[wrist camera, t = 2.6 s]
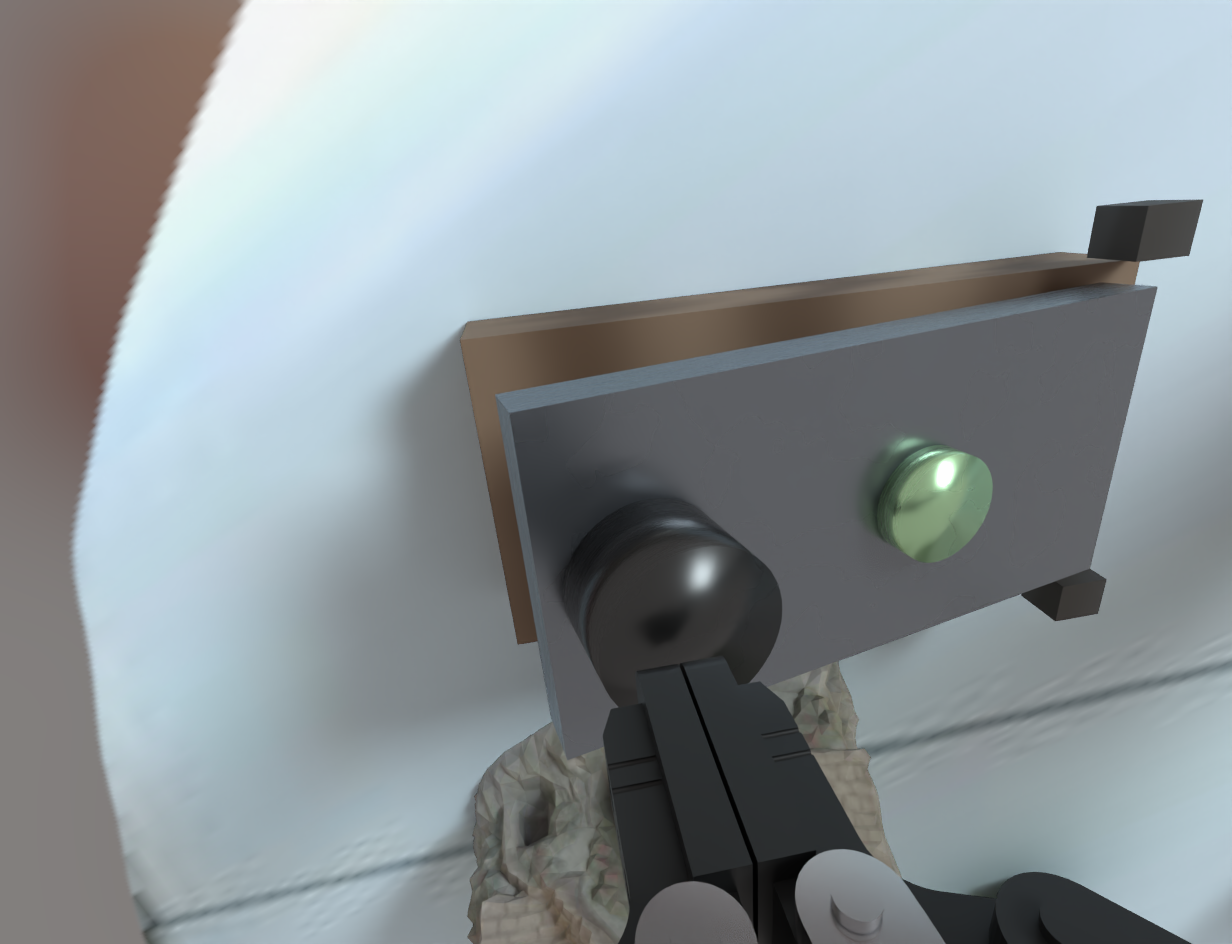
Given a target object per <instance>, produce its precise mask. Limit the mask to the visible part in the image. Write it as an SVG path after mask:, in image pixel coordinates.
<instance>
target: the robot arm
mask: <svg viewBox="0 0 1232 944" xmlns="http://www.w3.org/2000/svg"><path fill="white" fill-rule="evenodd" d="M635 678H636V689H637V699H638V704H635V705H630V706H624V707H619V708H613V709H611V710H610V713H609V716H608V720H607V723H606V726H605V729H604V732H603V744H604V751H605V759H606V766H607V774H608V781H609V789H610V796H611V804H612V810H613V816H614V821H615V827H616V833H617V839H618V845H619V851H620V857H621V863H622V869H623V875H624V881H625V887H626V893H627V899H628V904H629V916H628V921H627V924H626V927H625V930H624V933H623V935H622V937H621V939H620V941H619V942H618V944H1191V943H1189V942H1188V941H1186V940H1184V939H1182V938H1180V937H1178V936H1176V935H1174V934H1172V933H1171V932H1169V931H1167V930H1165V929H1163V928H1161V927H1159V926H1157V925H1155V924H1154V923H1152V922H1150V921H1148V920H1146V919H1144V918H1142V917H1140V916H1138V915H1137V914H1135V913H1133V912H1131V911H1129V910H1127V909H1125V908H1123V907H1121V906H1120V905H1118V904H1116V903H1114V902H1112V901H1110V900H1108V899H1106V898H1104V897H1103V896H1101V895H1099V894H1097V893H1095V892H1093V891H1091V890H1089V889H1087V888H1086V887H1084V886H1082V885H1080V884H1078V883H1075V882H1073V881H1071V880H1069V879H1066V878H1063V877H1060V876H1057V875H1053V874H1048V873H1041V872H1028V873H1022V874H1018V875H1015V876H1013V877H1011V878H1010V879H1008V880H1007V881H1006V882H1005V883H1004V884H1003V885H1002V886H1001V888H1000V890H999V891H998V894H997V898H996V899H995V898H987V897H979V896H971V895H963V894H955V893H948V892H940V891H935V890H930V889H926V888H923V887H920V886H917V885H914V884H912V883H910V882H908V881H905V880H903V879H902V878H900V877H899V876H898V875H897V874H896V873H895V872H894V871H893V870H892V869H891V868H889V867H888V866H887V865H885V864H884V863H882V862H881V861H879V860H877V859H876V858H874V857H873V856H872V854H871V853H870V852H869V851H868V850H867V848H866V847H865V845H864V844H863V842H862V841H861V839H860V837H859V836H858V834H857V832H856V830H855V828H854V827H853V825H852V823H851V821H850V819H849V818H848V816H847V814H846V812H845V810H844V809H843V807H842V805H841V803H840V801H839V800H838V798H837V796H836V794H835V792H834V791H833V789H832V787H831V785H830V783H829V782H828V780H827V778H826V776H825V774H824V773H823V771H822V769H821V767H820V765H819V764H818V762H817V760H816V758H815V756H814V755H812V754H811V750H810V747H809V746H808V744H807V742H806V740H805V738H804V737H803V735H802V733H800V732H799V729H798V726H797V724H796V722H795V720H794V719H793V717H792V715H791V713H790V711H789V710H788V708H787V706H786V704H785V702H784V701H783V700H782V699H781V698H779V697H778V696H777V695H776V694H775V693H773V692H772V691H771V690H770V689H768V688H767V687H766V686H765V685H764V684H762V683H761V682H760V681H759V682H753V683H748V684H742V685H737V683H736V680H735V678H734V676H733V674H732V672H731V670H730V668H729V666H728V664H727V662H726V660H725V658H724V657H723V656H716V657H711V658H705V659H699V660H694V661H688V662H683V663H680V665H678V664H673V665H667V666H661V667H656V668H650V669H645V670H639V671H636V672H635Z"/></svg>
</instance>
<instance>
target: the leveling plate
mask: <svg viewBox="0 0 1232 944" xmlns="http://www.w3.org/2000/svg"><path fill="white" fill-rule="evenodd" d="M1156 291H1157V287H1156V286H1143V285H1130V284H1118V283H1105V282H1100V283H1094V284H1089V285H1084V286H1078V287H1073V288H1067V289H1062V290H1057V291H1051V292H1046V293H1040V294H1035V295H1030V296H1024V297H1019V298H1013V299H1008V300H1003V301H997V302H992V303H986V304H981V305H976V306H970V307H965V308H959V309H954V310H949V311H943V312H938V313H932V314H927V315H922V316H916V317H911V318H905V319H900V320H895V321H889V322H884V323H878V324H873V325H868V326H862V327H857V328H851V329H846V330H841V331H835V332H830V333H824V334H819V335H814V336H808V337H803V338H797V339H792V340H787V341H781V342H776V343H770V344H765V345H760V346H754V347H749V348H743V349H738V350H733V351H727V352H722V353H716V354H711V355H706V356H700V357H695V358H689V359H684V360H678V361H673V362H668V363H662V364H657V365H651V366H646V367H641V368H635V369H630V370H624V371H619V372H614V373H608V374H603V375H597V376H592V377H587V378H581V379H576V380H570V381H565V382H560V383H554V384H549V385H543V386H538V387H533V388H527V389H522V390H516V391H511V392H506V393H500V394H495V398H496V404H497V410H498V415H499V421H500V427H501V433H502V438H503V444H504V450H505V455H506V461H507V467H508V473H509V478H510V484H511V490H512V496H513V501H514V507H515V513H516V519H517V524H518V530H519V536H520V542H521V547H522V553H523V559H524V565H525V570H526V576H527V582H528V587H529V593H530V599H531V605H532V610H533V616H534V622H535V628H536V633H537V639H538V645H539V651H540V656H541V662H542V668H543V674H544V679H545V685H546V691H547V697H548V702H549V708H550V714H551V719H552V722H553V724H554V727H555V730H556V732H557V735H558V737H559V740H560V743H561V745H562V748H563V751H564V753H565V756H566V758H567V760H570V759H572V758H575V757H578V756H581V755H583V754H586V753H589V752H591V751H594V750H597V749H600V748H602V747H604V744H603V732H604V729H605V726H606V723H607V720H608V716H609V713H610V710H611V709H613V708H619V707H624V706H630V705H635V704H638V699H637V689H636V678H635V672H636V671H639V670H645V669H650V668H656V667H661V666H667V665H673V664H678V665H680V663H683V662H688V661H694V660H699V659H705V658H711V657H716V656H723V657H724V658H725V660H726V662H727V664H728V666H729V668H730V670H731V672H732V674H733V676H734V678H735V680H736V683H737V685H742V684H748V683H753V682H759V681H760V682H761V683H762V684H764V685H765V686H766V687H769V686H771V685H774V684H777V683H779V682H782V681H785V680H788V679H790V678H793V677H796V676H798V675H801V674H804V673H807V672H809V671H812V670H815V669H818V668H820V667H823V666H826V665H828V664H831V663H834V662H837V661H839V660H842V659H845V658H848V657H850V656H853V655H856V654H858V653H861V652H864V651H867V650H869V649H872V648H875V647H877V646H880V645H883V644H886V643H888V642H891V641H894V640H897V639H899V638H902V637H905V636H907V635H910V634H913V633H916V632H918V631H921V630H924V629H927V628H929V627H932V626H935V625H937V624H940V623H943V622H946V621H948V620H951V619H954V618H956V617H959V616H962V615H965V614H967V613H970V612H973V611H976V610H978V609H981V608H984V607H986V606H989V605H992V604H995V603H997V602H1000V601H1003V600H1005V599H1008V598H1011V597H1014V596H1016V595H1019V594H1022V593H1025V592H1027V591H1030V590H1033V589H1035V588H1038V587H1041V586H1044V585H1046V584H1049V583H1052V582H1055V581H1057V580H1060V579H1063V578H1065V577H1068V576H1071V575H1074V574H1076V573H1079V572H1082V571H1084V570H1087V569H1090V565H1091V561H1092V557H1093V553H1094V549H1095V545H1096V540H1097V536H1098V532H1099V528H1100V524H1101V520H1102V515H1103V511H1104V507H1105V503H1106V499H1107V495H1108V491H1109V486H1110V482H1111V478H1112V474H1113V470H1114V466H1115V461H1116V457H1117V453H1118V449H1119V445H1120V441H1121V437H1122V432H1123V428H1124V424H1125V420H1126V416H1127V412H1128V407H1129V403H1130V399H1131V395H1132V391H1133V387H1134V382H1135V378H1136V374H1137V370H1138V366H1139V362H1140V358H1141V353H1142V349H1143V345H1144V341H1145V337H1146V333H1147V328H1148V324H1149V320H1150V316H1151V312H1152V308H1153V303H1154V299H1155V295H1156Z"/></svg>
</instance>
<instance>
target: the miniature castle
mask: <svg viewBox="0 0 1232 944" xmlns="http://www.w3.org/2000/svg"><path fill="white" fill-rule="evenodd" d="M838 662H839V661H837V662H834V663H831V664H828V665H826V666H823V667H820V668H818V669H815V670H812V671H809V672H807V673H804V674H801V675H798V676H796V677H793V678H790V679H788V680H785V681H782V682H779V683H777V684H774V685H771V686H769V687H767V688H768V689H770V690H771V691H772V692H773V693H775V694H776V695H777V696H778V697H779V698H781V699H782V700H783V701H784V702H785V704H786V706H787V708H788V710H789V711H790V713H791V715H792V717H793V719H794V720H795V722H796V724H797V726H798V729H799V732H800V733H802V735H803V737H804V738H805V740H806V742H807V744H808V746H809V747H810V750H811V754H812V755H814V756H815V758H816V760H817V762H818V764H819V765H820V767H821V769H822V771H823V773H824V774H825V776H826V778H827V780H828V782H829V783H830V785H831V787H832V789H833V791H834V792H835V794H836V796H837V798H838V800H839V801H840V803H841V805H842V807H843V809H844V810H845V812H846V814H847V816H848V818H849V819H850V821H851V823H852V825H853V827H854V828H855V830H856V832H857V834H858V836H859V837H860V839H861V841H862V842H863V844H864V845H865V847H866V848H867V850H868V851H869V852H870V853H871V854H872V856H873V857H874V858H876V859H877V860H879V861H881V862H882V863H884V864H885V865H887V866H888V867H889V868H891V869H892V870H893V871H894V872H895V873H896V874H897V875H898V876H899V877H900V878H902V877H901V874H900V872H899V869H898V867H897V864H896V862H895V860H894V857H893V855H892V852H891V850H890V848H889V845H888V843H887V840H886V838H885V835H884V830H883V826H882V818H881V810H880V803H879V797H878V794H877V790H876V787H875V785H874V783H873V781H872V779H871V777H870V774H869V772H868V770H867V768H868V765H869V761H870V758H871V757H870V756H869V754H868V753H867V752H866V750H865V749H858V748H857V746H856V740H855V736H856V726H857V724H858V721H859V719H858V717H857V715H856V713H855V711H854V706H853V702H852V698H851V695H850V692H849V690H848V688H847V686H846V684H845V681H844V679H843V677H842V675H841V673H840V668H839V664H838ZM474 797H475V800H476V803H475V809H476V810H475V815H476V821H477V822H476V825H475V828H474V831H473V836H474V837H475V838H474V843H473V848H474V853H475V856H476V858H477V864H478V868H477V870H476V871H475V872H474V874H473V875H472V877H471V878H470V883H471V887H472V896H471V901H470V905H469V909H468V916H467V917H468V918H469V919H470V920H471V922H472V923H473V927H472V929H471V931H470V933H469V934H468V936H467V937H468V938H469V940H470V941H471V942H472V943H473V944H618V942H619V941H620V939H621V937H622V935H623V933H624V930H625V927H626V924H627V921H628V916H629V904H628V899H627V893H626V887H625V881H624V875H623V869H622V863H621V857H620V851H619V845H618V839H617V833H616V827H615V821H614V816H613V810H612V804H611V796H610V789H609V781H608V774H607V766H606V759H605V751H604V747H602V748H600V749H597V750H594V751H591V752H589V753H586V754H583V755H581V756H578V757H575V758H572V759H570V760H567V758H566V756H565V753H564V751H563V748H562V745H561V743H560V740H559V737H558V735H557V732H556V730H555V727H554V724H553V722H551V723H549V724H547V725H546V726H544V727H543V728H541V729H540V730H538V732H536V733H535V734H534V735H530V736H529V737H528V738H526V739H525V740H524V741H522V742H520V743H518V744H517V745H515V746H514V747H512V748H510V749H509V750H507V751H505V752H504V753H503V754H502V755H501V756H500V757H499V758H498V759H497V760H496V761H495V762H494V763H493V764H492V765H491V766H490V767H489V768H488V769H487V771H486V773H485V774H484V775H483V778H482V780H481V782H480V784H479V787H478V794H476V795H475V796H474Z"/></svg>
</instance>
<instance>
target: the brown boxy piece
mask: <svg viewBox="0 0 1232 944" xmlns="http://www.w3.org/2000/svg"><path fill="white" fill-rule="evenodd" d="M1202 203H1203V200H1147V201H1138V202H1129V203H1120V204H1111V205H1102V206H1097V207H1096V213H1095V218H1094V223H1093V228H1092V233H1091V238H1090V244H1089V249H1088V254H1078V253H1065V252H1057V253H1049V254H1040V255H1032V256H1023V257H1015V258H1006V259H998V260H989V261H981V262H972V263H964V264H955V265H946V266H938V267H929V268H921V269H912V270H904V271H895V272H887V273H878V274H870V275H861V276H853V277H844V278H836V279H827V280H819V281H810V282H802V283H793V284H785V285H776V286H768V287H759V288H751V289H742V290H734V291H725V292H717V293H708V294H700V295H691V296H682V297H674V298H665V299H657V300H648V301H640V302H631V303H623V304H614V305H606V306H597V307H589V308H580V309H572V310H563V311H555V312H546V313H538V314H529V315H521V316H512V317H504V318H495V319H487V320H478V321H470V322H467V324H466V327H465V329H464V331H463V334H462V336H461V339H460V343H461V348H462V354H463V359H464V364H465V369H466V375H467V380H468V385H469V390H470V396H471V401H472V406H473V411H474V417H475V422H476V427H477V432H478V438H479V443H480V448H481V453H482V459H483V464H484V469H485V474H486V480H487V485H488V490H489V496H490V501H491V506H492V511H493V517H494V522H495V527H496V532H497V538H498V543H499V548H500V553H501V559H502V564H503V569H504V574H505V580H506V585H507V590H508V595H509V601H510V606H511V611H512V616H513V622H514V627H515V632H516V637H517V643H518V644H524V643H530V642H536V641H538V639H537V633H536V628H535V622H534V616H533V610H532V605H531V599H530V593H529V587H528V582H527V576H526V570H525V565H524V559H523V553H522V547H521V542H520V536H519V530H518V524H517V519H516V513H515V507H514V501H513V496H512V490H511V484H510V478H509V473H508V467H507V461H506V455H505V450H504V444H503V438H502V433H501V427H500V421H499V415H498V410H497V404H496V398H495V394H500V393H506V392H511V391H516V390H522V389H527V388H533V387H538V386H543V385H549V384H554V383H560V382H565V381H570V380H576V379H581V378H587V377H592V376H597V375H603V374H608V373H614V372H619V371H624V370H630V369H635V368H641V367H646V366H651V365H657V364H662V363H668V362H673V361H678V360H684V359H689V358H695V357H700V356H706V355H711V354H716V353H722V352H727V351H733V350H738V349H743V348H749V347H754V346H760V345H765V344H770V343H776V342H781V341H787V340H792V339H797V338H803V337H808V336H814V335H819V334H824V333H830V332H835V331H841V330H846V329H851V328H857V327H862V326H868V325H873V324H878V323H884V322H889V321H895V320H900V319H905V318H911V317H916V316H922V315H927V314H932V313H938V312H943V311H949V310H954V309H959V308H965V307H970V306H976V305H981V304H986V303H992V302H997V301H1003V300H1008V299H1013V298H1019V297H1024V296H1030V295H1035V294H1040V293H1046V292H1051V291H1057V290H1062V289H1067V288H1073V287H1078V286H1084V285H1089V284H1094V283H1100V282H1105V283H1118V284H1130V285H1135V280H1136V276H1137V272H1138V267H1139V263H1140V261H1148V260H1156V259H1164V258H1173V257H1181V256H1189V254H1190V250H1191V246H1192V242H1193V238H1194V234H1195V230H1196V227H1197V223H1198V219H1199V215H1200V211H1201V207H1202ZM1106 580H1107V579H1105V578H1104V577H1102V576H1100V575H1099V574H1097V573H1096V572H1094V571H1092V570H1091V569H1087V570H1084V571H1082V572H1079V573H1076V574H1074V575H1071V576H1068V577H1065V578H1063V579H1060V580H1057V581H1055V582H1052V583H1049V584H1046V585H1044V586H1041V587H1038V588H1035V589H1033V590H1030V591H1027V592H1025V593H1022V594H1021V595H1022V596H1023V597H1024V598H1025V599H1027V600H1028V601H1029V602H1031V603H1032V604H1033V605H1035V606H1036V607H1037V608H1039V609H1040V610H1041V611H1043V612H1044V613H1045V614H1047V615H1048V616H1049V617H1051V618H1052V619H1053V620H1054V621H1060V620H1065V619H1071V618H1076V617H1082V616H1087V615H1093V614H1098V611H1099V607H1100V603H1101V599H1102V595H1103V591H1104V587H1105V583H1106Z"/></svg>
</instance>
